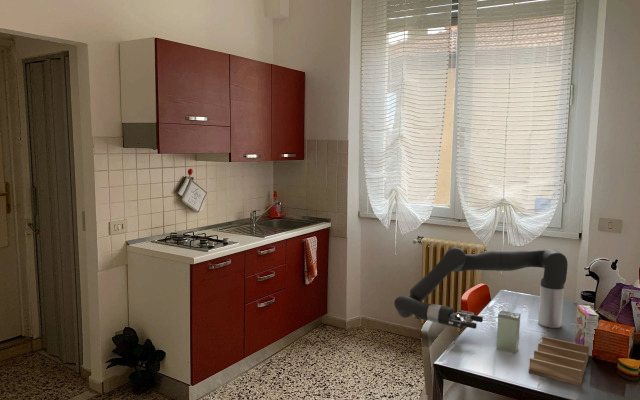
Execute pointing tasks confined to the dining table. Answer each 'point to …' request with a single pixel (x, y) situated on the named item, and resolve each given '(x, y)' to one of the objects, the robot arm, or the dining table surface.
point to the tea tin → (508, 331)
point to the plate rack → (560, 360)
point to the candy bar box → (586, 326)
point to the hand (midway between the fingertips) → (479, 322)
